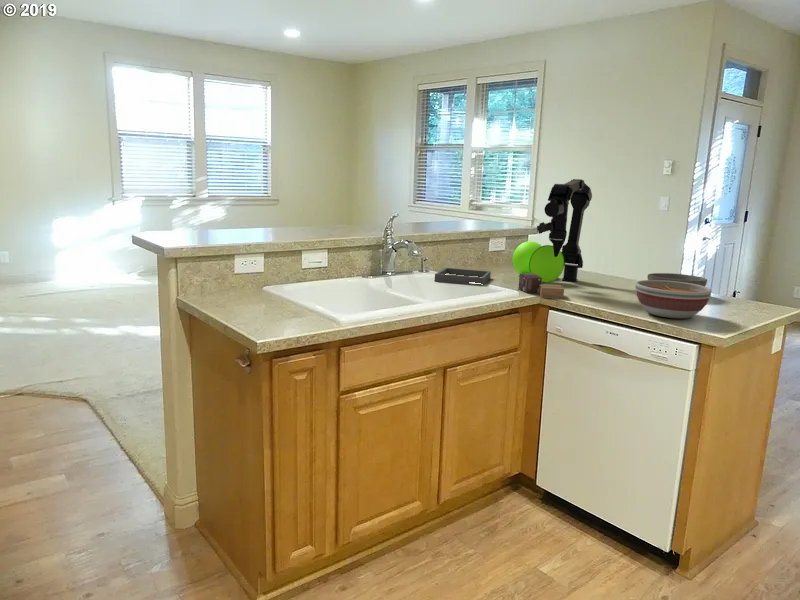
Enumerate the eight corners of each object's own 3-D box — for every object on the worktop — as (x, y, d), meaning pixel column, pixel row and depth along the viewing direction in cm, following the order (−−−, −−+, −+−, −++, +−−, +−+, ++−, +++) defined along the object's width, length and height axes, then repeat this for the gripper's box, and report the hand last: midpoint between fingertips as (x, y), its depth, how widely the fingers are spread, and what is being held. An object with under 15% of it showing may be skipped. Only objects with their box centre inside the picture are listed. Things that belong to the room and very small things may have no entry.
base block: (538, 294, 230) (539, 284, 230) (560, 295, 230) (560, 285, 229) (540, 298, 223) (541, 287, 222) (563, 299, 222) (564, 288, 221)
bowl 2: (671, 325, 186) (675, 293, 184) (617, 309, 206) (620, 280, 204) (723, 321, 195) (728, 290, 193) (667, 306, 215) (670, 278, 213)
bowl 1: (645, 297, 232) (647, 276, 230) (645, 289, 251) (647, 269, 249) (706, 303, 224) (709, 282, 222) (702, 294, 243) (705, 274, 241)
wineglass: (521, 270, 252) (505, 265, 269) (551, 289, 256) (533, 283, 274) (542, 237, 251) (524, 234, 269) (571, 257, 256) (552, 252, 273)
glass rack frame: (445, 274, 267) (445, 267, 267) (490, 278, 262) (490, 271, 261) (434, 281, 248) (434, 274, 248) (483, 285, 243) (483, 278, 242)
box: (519, 273, 235) (527, 277, 228) (533, 272, 237) (542, 277, 230) (518, 288, 237) (526, 293, 230) (532, 287, 238) (540, 292, 232)
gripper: (540, 214, 250) (537, 251, 253) (537, 216, 233) (533, 256, 236) (568, 215, 247) (564, 253, 250) (567, 217, 230) (563, 258, 233)
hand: (556, 255), depth 243 cm, fingers open, 9 cm apart
